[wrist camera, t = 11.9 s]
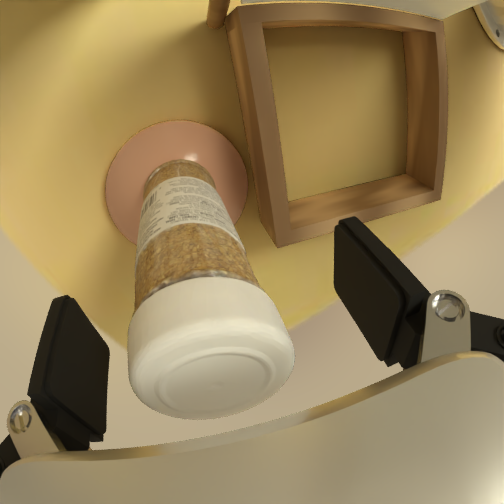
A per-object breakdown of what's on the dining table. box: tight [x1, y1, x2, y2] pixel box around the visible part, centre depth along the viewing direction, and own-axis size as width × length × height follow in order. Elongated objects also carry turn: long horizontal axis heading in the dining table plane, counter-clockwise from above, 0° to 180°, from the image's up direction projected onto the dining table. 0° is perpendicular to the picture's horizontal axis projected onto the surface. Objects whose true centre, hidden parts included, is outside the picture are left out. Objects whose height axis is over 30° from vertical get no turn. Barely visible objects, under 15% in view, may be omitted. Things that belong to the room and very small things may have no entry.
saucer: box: [105, 120, 248, 245], centre depth 18 cm, size 9×9×1 cm
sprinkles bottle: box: [128, 159, 295, 420], centre depth 13 cm, size 5×5×14 cm
